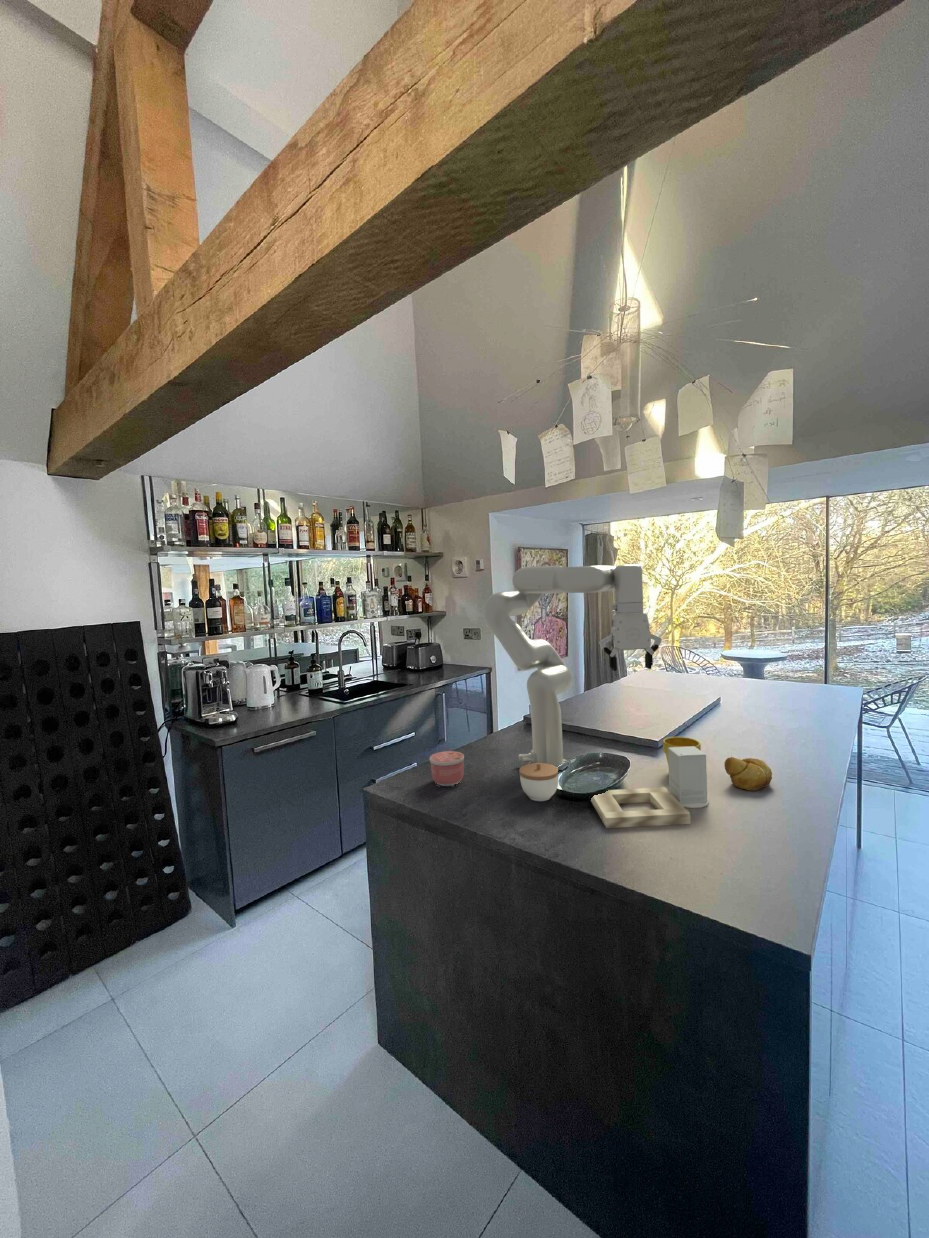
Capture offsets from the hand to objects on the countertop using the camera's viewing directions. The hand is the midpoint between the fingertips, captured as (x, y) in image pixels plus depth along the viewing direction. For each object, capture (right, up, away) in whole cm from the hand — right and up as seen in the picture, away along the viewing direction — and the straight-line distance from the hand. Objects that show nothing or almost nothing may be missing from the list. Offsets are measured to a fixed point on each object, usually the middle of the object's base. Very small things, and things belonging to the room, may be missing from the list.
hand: (631, 669), depth 145 cm
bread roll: (+33, -32, -2) cm, 46 cm away
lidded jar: (-26, -35, -3) cm, 44 cm away
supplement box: (+12, -33, -10) cm, 36 cm away
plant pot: (+18, -32, +8) cm, 38 cm away
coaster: (+12, -33, -10) cm, 37 cm away
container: (-52, -36, +12) cm, 64 cm away
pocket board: (-3, -35, -15) cm, 38 cm away
